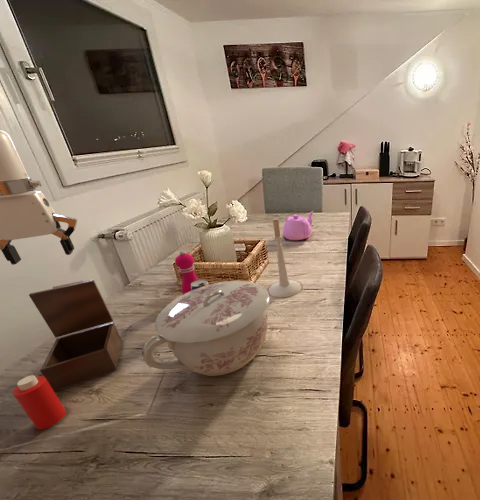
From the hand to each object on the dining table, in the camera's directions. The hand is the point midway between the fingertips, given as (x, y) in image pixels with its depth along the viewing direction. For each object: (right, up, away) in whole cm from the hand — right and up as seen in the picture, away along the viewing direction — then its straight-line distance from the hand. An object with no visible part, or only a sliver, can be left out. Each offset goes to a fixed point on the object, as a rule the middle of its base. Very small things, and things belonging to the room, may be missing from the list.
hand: (44, 257), depth 70 cm
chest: (+4, -30, +8) cm, 32 cm away
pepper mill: (+16, -17, +39) cm, 46 cm away
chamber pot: (+41, -28, +11) cm, 51 cm away
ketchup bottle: (+9, -37, -7) cm, 38 cm away
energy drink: (+25, -20, +30) cm, 44 cm away
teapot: (+46, +10, +101) cm, 111 cm away
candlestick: (+50, -14, +43) cm, 67 cm away
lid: (+1, -14, +7) cm, 16 cm away
